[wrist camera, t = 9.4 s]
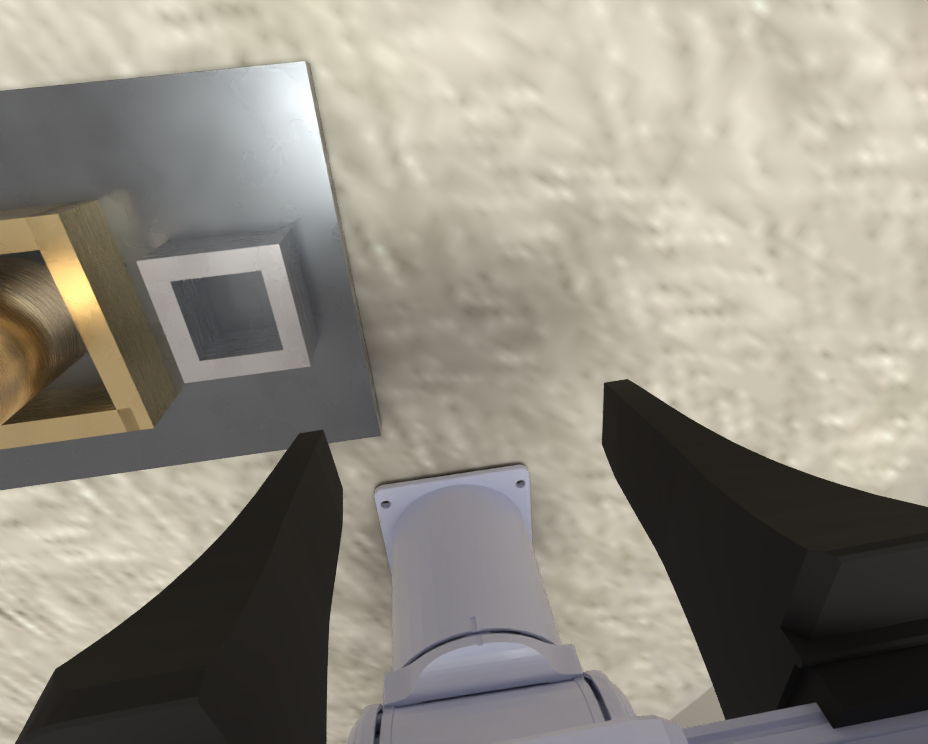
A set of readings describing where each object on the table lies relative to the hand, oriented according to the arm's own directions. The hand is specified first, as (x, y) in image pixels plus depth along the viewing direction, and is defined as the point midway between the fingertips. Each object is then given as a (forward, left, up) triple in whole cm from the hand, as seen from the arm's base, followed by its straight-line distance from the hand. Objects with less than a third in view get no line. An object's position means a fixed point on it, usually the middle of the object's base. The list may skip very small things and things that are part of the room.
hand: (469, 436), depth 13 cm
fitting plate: (+2, +12, -10) cm, 16 cm away
